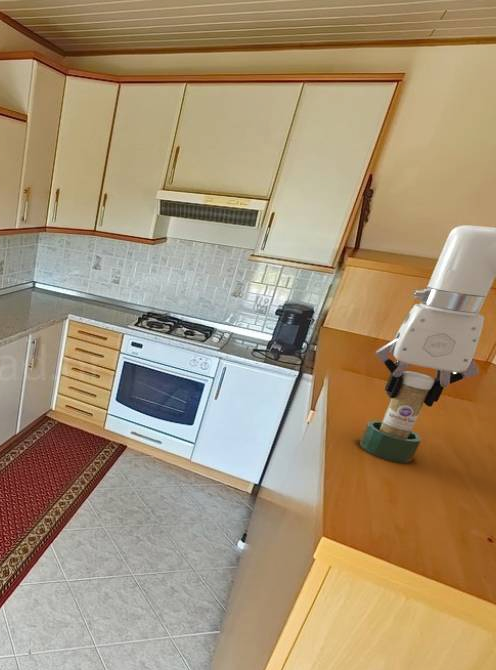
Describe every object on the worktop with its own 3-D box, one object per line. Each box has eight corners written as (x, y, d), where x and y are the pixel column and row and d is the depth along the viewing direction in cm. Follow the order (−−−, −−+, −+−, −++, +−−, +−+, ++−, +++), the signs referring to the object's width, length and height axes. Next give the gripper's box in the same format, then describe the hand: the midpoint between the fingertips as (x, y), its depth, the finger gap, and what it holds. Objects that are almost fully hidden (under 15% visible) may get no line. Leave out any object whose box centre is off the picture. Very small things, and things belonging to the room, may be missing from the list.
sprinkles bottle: (380, 443, 90) (409, 376, 86) (371, 433, 95) (398, 368, 90) (409, 449, 89) (440, 381, 84) (399, 438, 93) (428, 373, 88)
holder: (405, 449, 94) (415, 428, 93) (416, 467, 88) (427, 445, 86) (356, 436, 98) (364, 416, 96) (363, 453, 91) (372, 432, 89)
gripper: (394, 296, 83) (356, 394, 89) (528, 316, 76) (476, 420, 82) (385, 290, 89) (349, 381, 95) (508, 307, 82) (460, 405, 88)
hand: (408, 398), depth 89 cm, fingers closed on sprinkles bottle, 4 cm apart
